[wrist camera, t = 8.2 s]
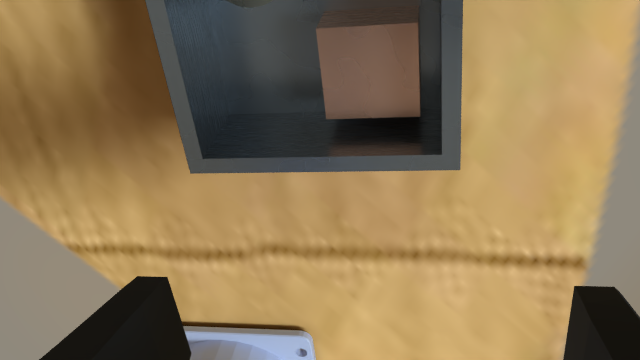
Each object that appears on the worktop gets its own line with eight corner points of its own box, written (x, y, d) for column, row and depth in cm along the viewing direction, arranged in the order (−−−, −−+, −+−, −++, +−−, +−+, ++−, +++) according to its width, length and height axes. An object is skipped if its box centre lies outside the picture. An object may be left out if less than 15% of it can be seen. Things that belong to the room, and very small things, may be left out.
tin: (456, 114, 20) (460, 169, 17) (223, 121, 21) (190, 173, 18) (458, -166, 15) (465, -158, 12) (169, -132, 17) (114, -118, 14)
